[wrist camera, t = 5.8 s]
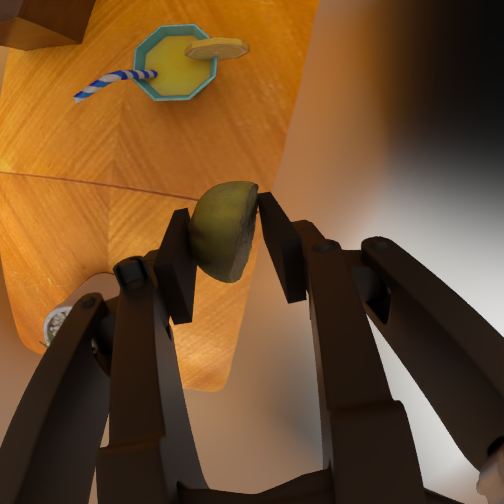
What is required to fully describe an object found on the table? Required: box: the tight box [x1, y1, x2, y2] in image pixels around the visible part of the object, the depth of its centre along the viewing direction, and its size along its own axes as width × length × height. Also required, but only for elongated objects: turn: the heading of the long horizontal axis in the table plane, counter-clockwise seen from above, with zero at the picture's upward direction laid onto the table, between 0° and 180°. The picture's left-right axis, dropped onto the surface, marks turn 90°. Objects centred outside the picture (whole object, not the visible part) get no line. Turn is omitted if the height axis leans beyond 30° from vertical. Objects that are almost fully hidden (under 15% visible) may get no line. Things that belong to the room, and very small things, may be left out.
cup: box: [74, 24, 250, 103], centre depth 23 cm, size 14×8×15 cm, turn 109°
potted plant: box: [39, 273, 120, 352], centre depth 32 cm, size 13×14×20 cm
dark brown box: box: [0, 0, 95, 51], centre depth 15 cm, size 10×10×15 cm
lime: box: [187, 181, 258, 283], centre depth 15 cm, size 4×5×5 cm
